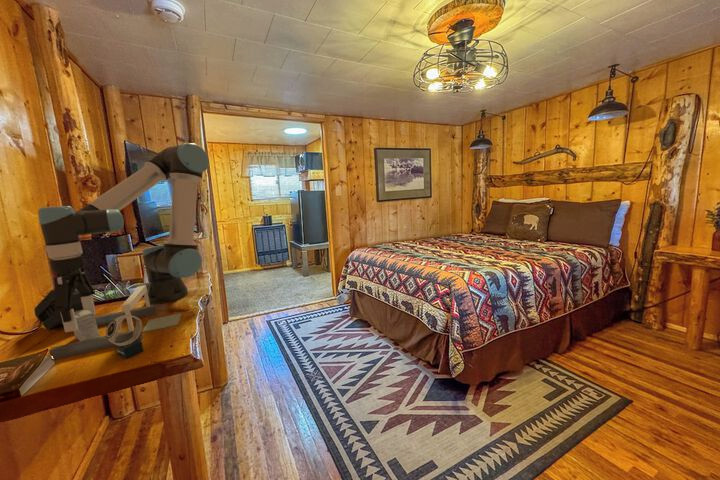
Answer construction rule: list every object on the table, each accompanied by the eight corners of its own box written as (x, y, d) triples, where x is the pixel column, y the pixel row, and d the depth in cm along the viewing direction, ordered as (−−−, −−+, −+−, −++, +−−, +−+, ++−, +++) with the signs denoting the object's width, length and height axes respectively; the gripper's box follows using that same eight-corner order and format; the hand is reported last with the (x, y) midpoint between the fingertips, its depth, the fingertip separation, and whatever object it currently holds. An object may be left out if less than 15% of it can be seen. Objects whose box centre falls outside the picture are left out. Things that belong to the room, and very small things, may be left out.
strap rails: (157, 312, 113) (155, 304, 113) (141, 339, 92) (139, 330, 91) (87, 326, 105) (85, 318, 104) (51, 360, 83) (48, 350, 83)
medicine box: (100, 337, 95) (94, 312, 94) (82, 344, 92) (75, 318, 90) (92, 332, 100) (86, 308, 98) (74, 338, 96) (68, 313, 95)
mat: (181, 314, 110) (181, 313, 109) (177, 324, 101) (177, 323, 100) (149, 320, 106) (149, 319, 106) (142, 332, 97) (142, 331, 97)
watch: (108, 358, 82) (99, 321, 80) (140, 344, 89) (133, 309, 87) (118, 363, 79) (108, 325, 77) (150, 348, 86) (143, 312, 84)
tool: (80, 321, 100) (52, 285, 99) (51, 347, 105) (25, 313, 105) (99, 313, 106) (73, 280, 105) (71, 338, 111) (46, 306, 110)
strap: (152, 304, 112) (148, 282, 111) (136, 330, 91) (130, 303, 89) (145, 305, 111) (140, 283, 110) (126, 332, 90) (120, 305, 89)
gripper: (69, 252, 101) (83, 311, 104) (25, 267, 78) (44, 342, 82) (97, 249, 104) (110, 306, 107) (62, 263, 81) (79, 335, 85)
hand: (81, 322), depth 94 cm, fingers open, 13 cm apart
